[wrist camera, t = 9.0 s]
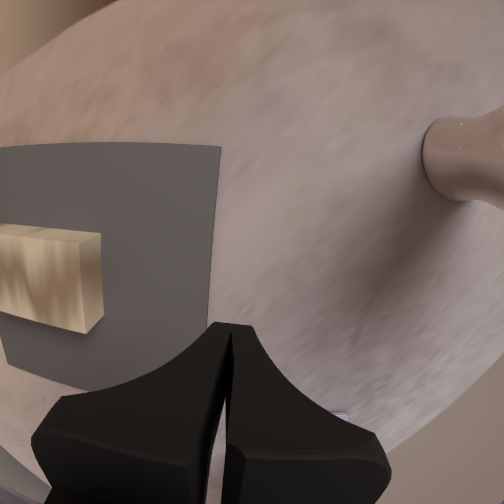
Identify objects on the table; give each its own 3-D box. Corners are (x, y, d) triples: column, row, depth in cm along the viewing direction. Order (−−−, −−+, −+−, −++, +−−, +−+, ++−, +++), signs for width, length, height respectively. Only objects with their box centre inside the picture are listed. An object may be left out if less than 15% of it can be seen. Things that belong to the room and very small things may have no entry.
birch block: (86, 333, 18) (-14, 306, 18) (104, 314, 21) (7, 293, 21) (79, 243, 17) (-24, 230, 17) (100, 233, 20) (0, 223, 20)
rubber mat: (203, 411, 24) (202, 414, 23) (10, 361, 24) (8, 363, 23) (221, 147, 19) (220, 146, 18) (-13, 149, 18) (-16, 149, 18)
